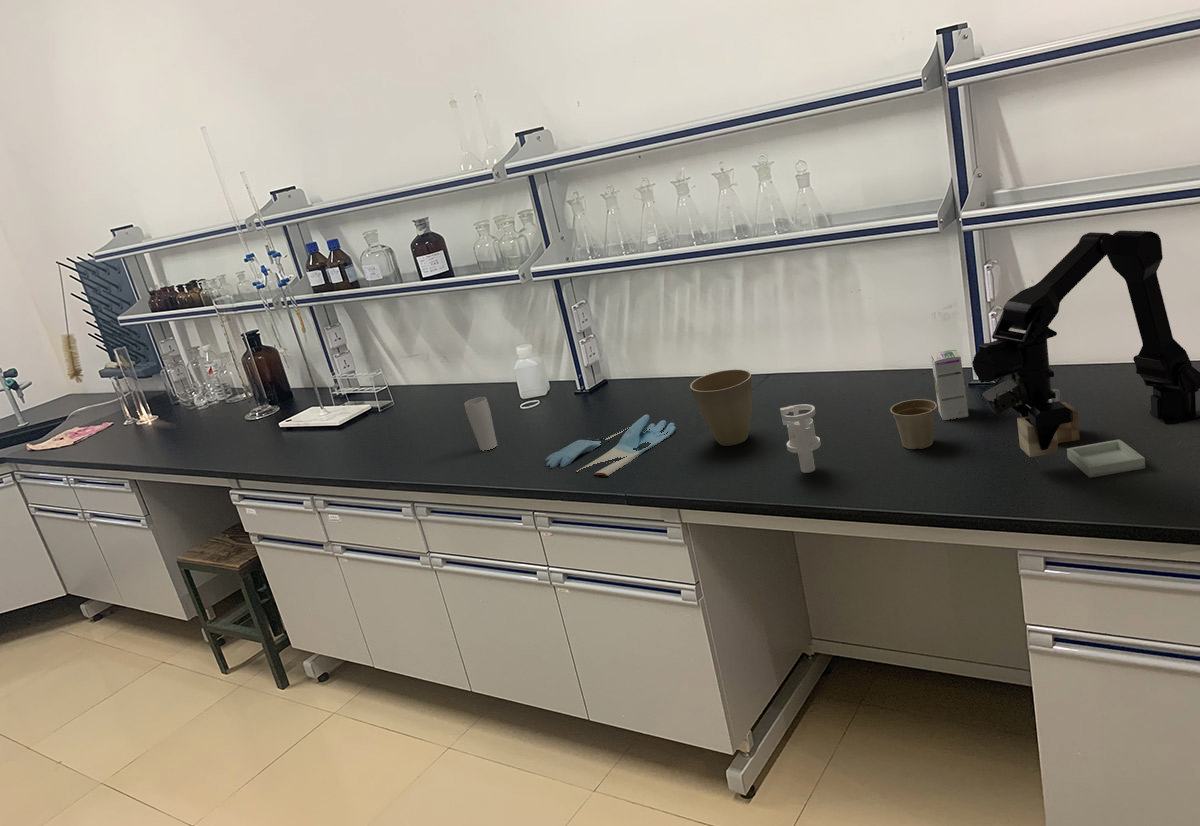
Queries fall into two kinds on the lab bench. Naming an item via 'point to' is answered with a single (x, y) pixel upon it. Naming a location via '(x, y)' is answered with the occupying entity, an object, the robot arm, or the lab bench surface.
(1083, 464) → the tray
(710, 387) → the plant pot
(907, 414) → the flower pot
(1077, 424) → the bored oak block
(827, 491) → the lab bench surface
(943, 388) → the syrup box
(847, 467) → the lab bench surface
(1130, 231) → the robot arm
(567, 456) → the rubber gloves
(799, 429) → the strainer
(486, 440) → the drinking glass
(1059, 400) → the rod
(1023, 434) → the maple block
